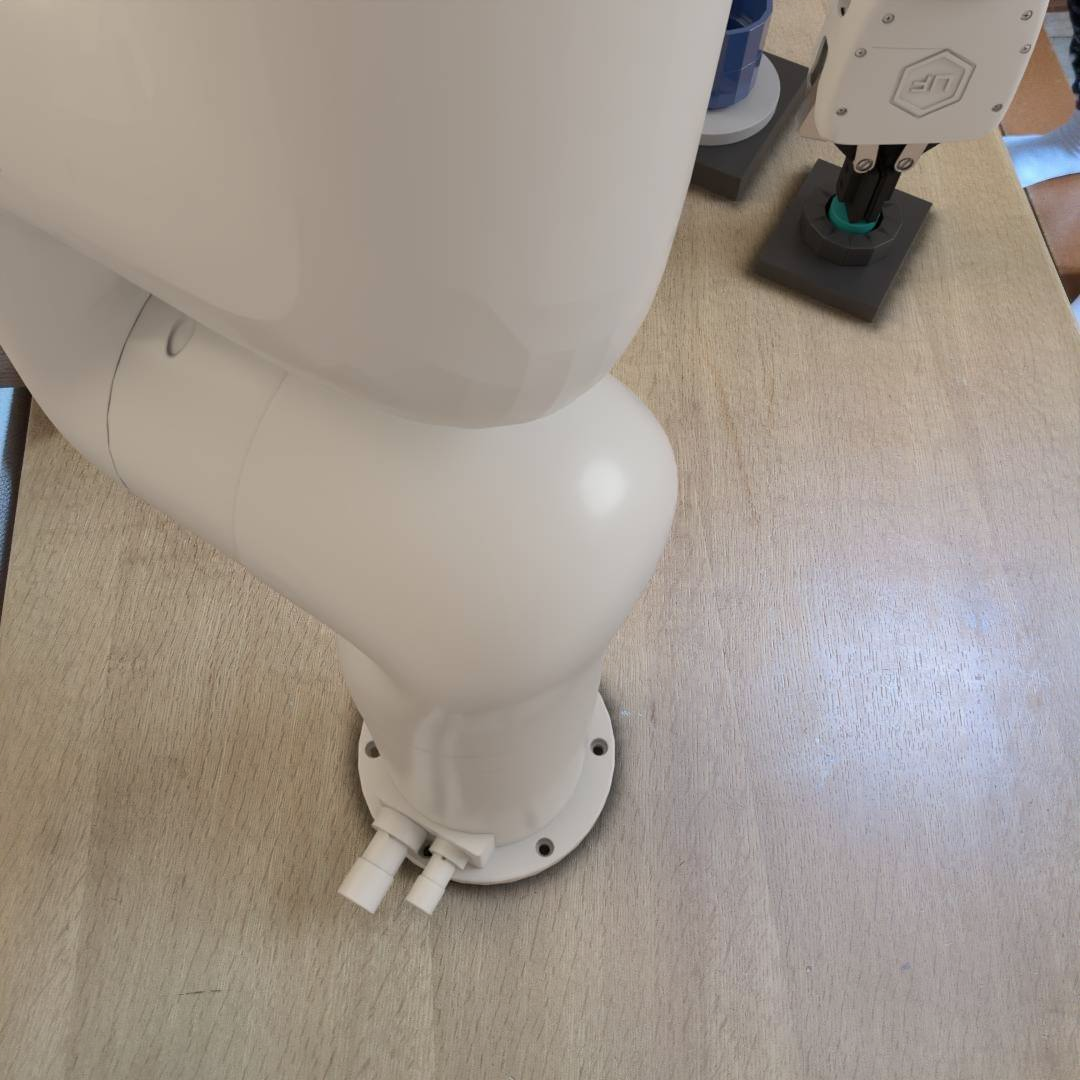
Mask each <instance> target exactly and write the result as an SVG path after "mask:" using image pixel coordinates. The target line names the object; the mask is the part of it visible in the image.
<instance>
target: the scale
mask: <svg viewBox="0 0 1080 1080" xmlns="http://www.w3.org/2000/svg"><path fill="white" fill-rule="evenodd" d="M808 71H809V67H808V66H806V65H802V64H800V63H797V62H795V61H792V60H789V59H787V58H785V57H782V56H778V55H776V54H773V53H770V52H768V51H765V50H763V53H762V57H761V61H760V66H759V70H758V74H757V78H756V82H755V85H754V87H753V88H752V90H751V91H750V93H749V94H748V96H747V97H746V98H744V99H743V100H741V101H739V102H737V103H736V104H734V105H731V106H728V107H725V108H721V109H715V110H707V112H706V116H705V120H704V125H703V129H702V133H701V137H700V142H699V146H698V150H697V154H696V159H695V163H694V167H693V172H692V176H691V180H690V184H692V185H695V186H697V187H699V188H702V189H704V190H707V191H709V192H711V193H714V194H716V195H719V196H722V197H724V198H726V199H729V200H731V201H734V202H737V200H738V199H739V197H740V196H741V194H742V192H743V191H744V190H745V188H746V186H747V184H748V183H749V181H750V179H751V178H752V176H753V175H754V174H755V172H756V170H757V169H758V167H759V166H760V165H761V162H762V161H763V160H764V158H765V157H766V154H767V153H768V152H769V151H770V148H771V147H772V145H773V143H774V142H775V141H776V139H777V137H778V135H780V132H781V131H782V129H783V128H784V126H785V125H786V123H787V122H788V120H789V118H790V117H791V115H792V114H793V112H794V111H795V109H796V108H797V106H798V104H799V103H800V102H801V100H802V99H803V96H804V95H805V94H806V90H807V87H808V85H807V76H808Z"/></svg>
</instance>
